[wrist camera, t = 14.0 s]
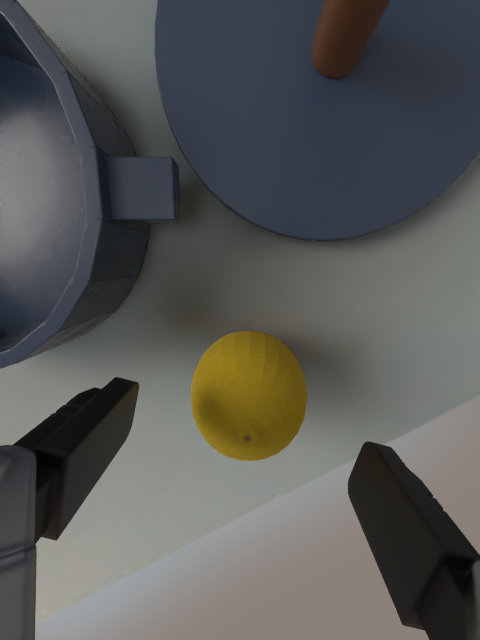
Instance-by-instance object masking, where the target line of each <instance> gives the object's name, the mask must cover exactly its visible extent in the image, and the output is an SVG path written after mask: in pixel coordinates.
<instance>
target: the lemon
mask: <svg viewBox="0 0 480 640" xmlns="http://www.w3.org/2000/svg"><path fill="white" fill-rule="evenodd" d="M306 402H307V392H306V384H305V377H304V374H303V372H302V369H301V367H300V364H299V362H298V360H297V358H296V357H295V356H294V354H293V353H292V352H291V351H290V349H289V348H288V347H287V346H286V345H285V344H284V343H282V342H281V341H280V340H278V339H277V338H276V337H274V336H271V335H269V334H267V333H264V332H260V331H254V330H243V331H236V332H233V333H230V334H227V335H225V336H223V337H222V338H220V339H219V340H217V341H216V342H214V343H213V344H212V345H211V346H210V347H209V348H208V349H207V350H206V352H205V353H204V354H203V355H202V357H201V359H200V361H199V363H198V365H197V367H196V369H195V371H194V375H193V380H192V385H191V405H192V413H193V417H194V419H195V422H196V425H197V427H198V430H199V431H200V433H201V434H202V436H203V437H204V439H205V440H206V441H207V442H208V443H209V444H210V445H211V446H212V447H213V448H214V449H216V450H217V451H218V452H220V453H222V454H224V455H226V456H228V457H230V458H234V459H238V460H248V461H254V460H260V459H265V458H268V457H270V456H272V455H275V454H277V453H278V452H280V451H281V450H282V449H284V448H285V447H286V446H287V445H288V444H289V443H290V442H291V441H292V440H293V438H294V437H295V436H296V435H297V433H298V431H299V428H300V426H301V424H302V422H303V419H304V415H305V409H306Z"/></svg>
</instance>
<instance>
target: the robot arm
mask: <svg viewBox="0 0 480 640" xmlns="http://www.w3.org/2000/svg"><path fill="white" fill-rule="evenodd" d="M138 391H139V383H138V382H134V381H130V380H126V379H122V378H118V377H116V378H114V379H113V380H112V381H111V382H109V383H108V384H107V385H106V386H105V387H104V388H102V389H99V388H92V389H89V390H87V391H84V392H82V393H79V394H78V395H76V396H75V397H74V398H72V399H71V400H70V401H69V402H67V404H66V405H63V406H62V407H61V408H60V409H58V410H57V411H56V413H53V414H52V415H51V416H49V417H48V418H47V419H45V420H44V421H43V422H42V423H40V424H39V425H38V426H36V427H35V428H34V429H33V430H31V431H30V432H29V433H28V434H26V435H25V436H24V437H22V438H21V439H20V440H19V441H17V442H16V443H15V444H13V445H3V446H0V640H35V603H36V545H35V544H36V543H37V541H38V540H39V539H40V537H44V538H48V539H53V540H57V539H58V538H59V536H60V535H61V534H62V532H63V531H64V529H65V528H66V526H67V525H68V523H69V522H70V520H71V519H72V518H73V516H74V515H75V513H76V512H77V510H78V509H79V507H80V506H81V504H82V503H83V502H84V500H85V499H86V497H87V496H88V494H89V493H90V491H91V490H92V489H93V487H94V486H95V484H96V483H97V481H98V480H99V478H100V477H101V475H102V474H103V473H104V471H105V470H106V468H107V467H108V465H109V464H110V462H111V461H112V459H113V458H114V457H115V455H116V454H117V452H118V451H119V449H120V448H121V446H122V445H123V443H124V442H125V440H126V439H127V437H128V434H129V432H130V429H131V426H132V422H133V417H134V412H135V407H136V401H137V396H138ZM348 494H349V498H350V500H351V503H352V505H353V507H354V510H355V512H356V515H357V517H358V520H359V522H360V524H361V527H362V529H363V531H364V534H365V536H366V539H367V541H368V543H369V546H370V548H371V551H372V553H373V555H374V558H375V560H376V562H377V565H378V567H379V570H380V572H381V574H382V577H383V579H384V581H385V584H386V586H387V588H388V591H389V593H390V596H391V598H392V601H393V603H394V605H395V608H396V610H397V613H398V615H399V617H400V620H401V622H402V625H405V626H409V627H413V628H417V629H421V630H425V631H426V633H427V635H428V637H429V640H480V555H479V554H478V553H477V551H476V550H475V549H474V547H473V546H472V545H471V544H470V542H469V541H468V540H467V539H466V537H465V536H464V535H463V533H462V532H461V531H460V529H459V528H458V527H457V526H456V524H455V523H454V522H453V520H452V519H451V518H450V517H449V515H448V514H447V513H446V512H444V511H443V508H442V506H441V505H440V504H439V503H438V501H437V500H436V499H435V498H433V495H432V494H431V492H430V491H429V490H428V488H427V487H426V486H425V485H424V483H423V482H422V481H421V480H420V479H419V478H418V477H417V476H416V475H415V474H414V473H412V472H411V471H410V470H409V469H408V468H407V467H406V466H405V464H404V463H403V462H402V460H401V459H400V458H399V456H398V455H397V454H396V452H395V451H394V450H393V449H392V448H391V447H388V446H385V445H381V444H377V443H373V442H365V443H364V444H363V446H362V448H361V451H360V453H359V455H358V458H357V460H356V463H355V465H354V467H353V470H352V472H351V475H350V477H349V481H348Z"/></svg>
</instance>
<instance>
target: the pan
mask: <svg viewBox="0 0 480 640" xmlns="http://www.w3.org/2000/svg"><path fill="white" fill-rule="evenodd" d="M149 223H180V196H179V168H178V165H177V163H176V162H175V160H174V159H173V158H172V157H137V156H136V153H135V151H134V149H133V147H132V145H131V143H130V140H129V137H128V135H127V133H126V132H125V130H124V129H123V127H122V126H121V125H120V123H119V122H118V120H117V119H116V117H115V116H114V114H113V113H112V111H111V110H110V109H109V108H108V106H107V105H106V104H105V102H104V101H103V99H102V98H101V97H100V95H99V94H98V92H97V91H96V90H95V89H94V88H93V86H92V85H91V84H90V83H89V82H88V81H87V80H86V79H85V77H84V76H83V75H82V74H81V73H80V72H79V71H78V69H77V68H76V67H75V66H74V65H73V64H72V63H71V61H70V60H69V59H68V58H67V57H66V56H65V55H64V54H63V52H62V51H61V50H60V49H59V48H58V47H57V46H56V44H55V43H54V42H53V41H52V40H51V39H50V38H49V36H48V35H47V34H46V33H45V32H44V31H43V30H42V29H41V27H40V26H39V25H38V24H37V23H36V22H35V21H34V19H33V18H32V17H31V16H30V15H29V14H28V13H27V11H26V10H25V9H24V8H23V7H22V6H21V5H20V4H19V2H17V1H16V0H0V368H3V367H6V366H9V365H13V364H16V363H19V362H21V361H23V360H26V359H28V358H30V357H33V356H35V355H37V354H40V353H42V352H44V351H47V350H49V349H51V348H54V347H56V346H58V345H61V344H63V343H65V342H68V341H70V340H72V339H75V338H77V337H79V336H82V335H84V334H86V333H87V332H88V331H90V330H91V329H92V328H94V327H95V326H97V325H98V324H100V323H101V322H102V321H104V320H105V319H106V318H107V317H108V316H110V315H111V314H112V313H113V312H114V311H115V310H116V309H117V308H118V306H119V305H120V304H121V303H122V301H123V300H124V299H125V298H126V296H127V295H128V293H129V291H130V290H131V288H132V286H133V285H134V283H135V281H136V279H137V276H138V274H139V271H140V269H141V267H142V263H143V260H144V256H145V252H146V248H147V240H148V233H149Z"/></svg>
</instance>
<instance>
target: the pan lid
mask: <svg viewBox="0 0 480 640" xmlns="http://www.w3.org/2000/svg"><path fill="white" fill-rule="evenodd" d="M155 59H156V69H157V78H158V84H159V89H160V93H161V98H162V103H163V107H164V110H165V113H166V116H167V119H168V122H169V125H170V127H171V130H172V132H173V135H174V137H175V139H176V141H177V143H178V145H179V147H180V149H181V151H182V153H183V155H184V156H185V158H186V160H187V161H188V163H189V164H190V166H191V168H192V169H193V171H194V172H195V174H196V175H197V176H198V178H199V179H200V180H201V181H202V182H203V184H204V185H205V186H206V187H207V188H208V190H209V191H210V192H211V193H212V194H213V195H214V196H215V197H216V198H217V199H219V200H220V201H221V202H222V203H223V204H224V205H225V206H226V207H227V208H229V209H230V210H232V211H233V212H234V213H236V214H237V215H239V216H240V217H242V218H243V219H245V220H247V221H249V222H251V223H252V224H254V225H256V226H258V227H260V228H262V229H265V230H268V231H271V232H273V233H276V234H279V235H283V236H287V237H292V238H297V239H303V240H317V241H325V240H341V239H346V238H351V237H357V236H362V235H366V234H369V233H372V232H375V231H378V230H381V229H384V228H386V227H388V226H391V225H393V224H395V223H397V222H399V221H401V220H403V219H405V218H407V217H409V216H410V215H412V214H413V213H415V212H417V211H418V210H420V209H421V208H423V207H424V206H426V205H427V204H429V203H430V202H431V201H432V200H434V199H435V198H436V197H437V196H439V195H440V194H441V193H442V192H443V191H445V190H446V189H447V188H448V187H449V186H450V185H451V184H452V183H453V182H454V181H455V180H456V179H457V178H458V177H459V176H460V175H461V174H462V173H463V172H464V170H465V169H466V168H467V167H468V165H469V164H470V163H471V161H472V160H473V159H474V158H475V156H476V155H477V154H478V153H479V151H480V0H158V5H157V13H156V22H155Z"/></svg>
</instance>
